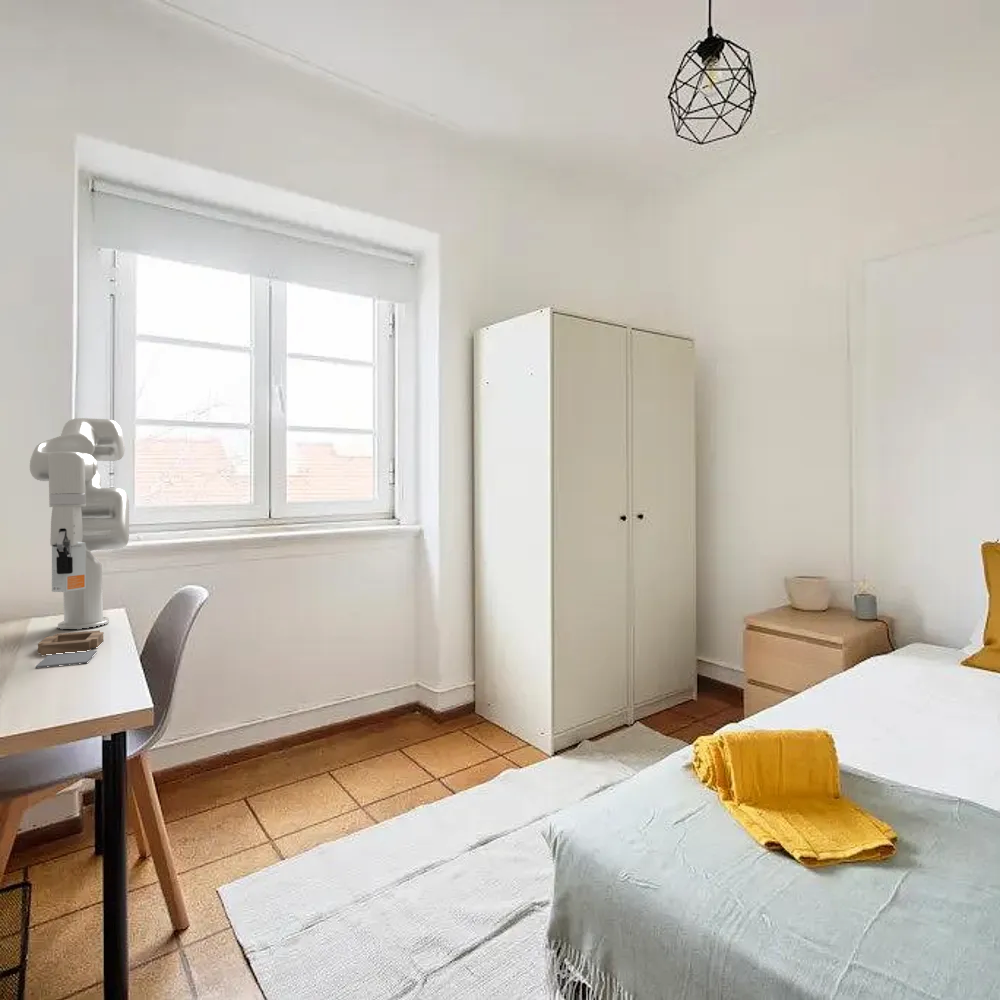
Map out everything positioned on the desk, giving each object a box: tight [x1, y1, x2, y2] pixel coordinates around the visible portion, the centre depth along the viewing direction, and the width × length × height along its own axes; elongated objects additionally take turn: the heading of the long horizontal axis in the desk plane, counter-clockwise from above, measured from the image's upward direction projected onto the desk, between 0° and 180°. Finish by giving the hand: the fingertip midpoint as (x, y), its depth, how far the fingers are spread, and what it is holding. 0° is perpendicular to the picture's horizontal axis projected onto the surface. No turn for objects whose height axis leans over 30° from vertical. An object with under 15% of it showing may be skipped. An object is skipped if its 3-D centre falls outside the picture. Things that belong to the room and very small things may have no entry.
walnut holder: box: [37, 630, 104, 656], centre depth 159 cm, size 12×12×2 cm
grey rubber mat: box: [35, 650, 98, 669], centre depth 147 cm, size 10×10×1 cm
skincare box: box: [51, 542, 86, 593], centre depth 155 cm, size 6×4×12 cm
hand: (69, 571), depth 155 cm, fingers closed on skincare box, 7 cm apart
